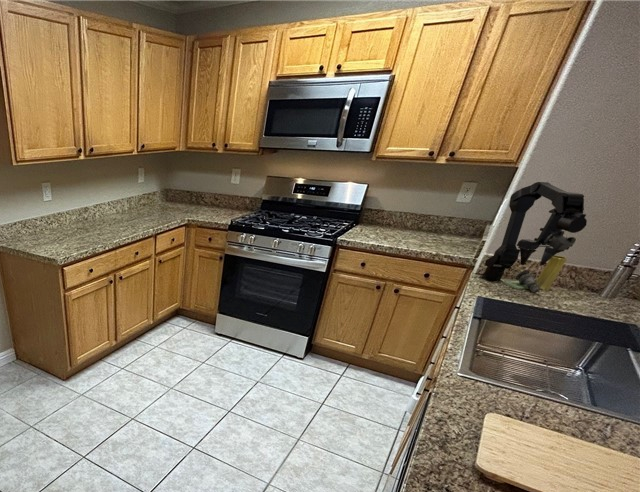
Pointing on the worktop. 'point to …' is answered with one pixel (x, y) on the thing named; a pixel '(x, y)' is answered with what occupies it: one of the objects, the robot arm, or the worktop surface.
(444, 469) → the worktop surface
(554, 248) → the robot arm
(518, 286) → the mat
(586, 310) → the worktop surface
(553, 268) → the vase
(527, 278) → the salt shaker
